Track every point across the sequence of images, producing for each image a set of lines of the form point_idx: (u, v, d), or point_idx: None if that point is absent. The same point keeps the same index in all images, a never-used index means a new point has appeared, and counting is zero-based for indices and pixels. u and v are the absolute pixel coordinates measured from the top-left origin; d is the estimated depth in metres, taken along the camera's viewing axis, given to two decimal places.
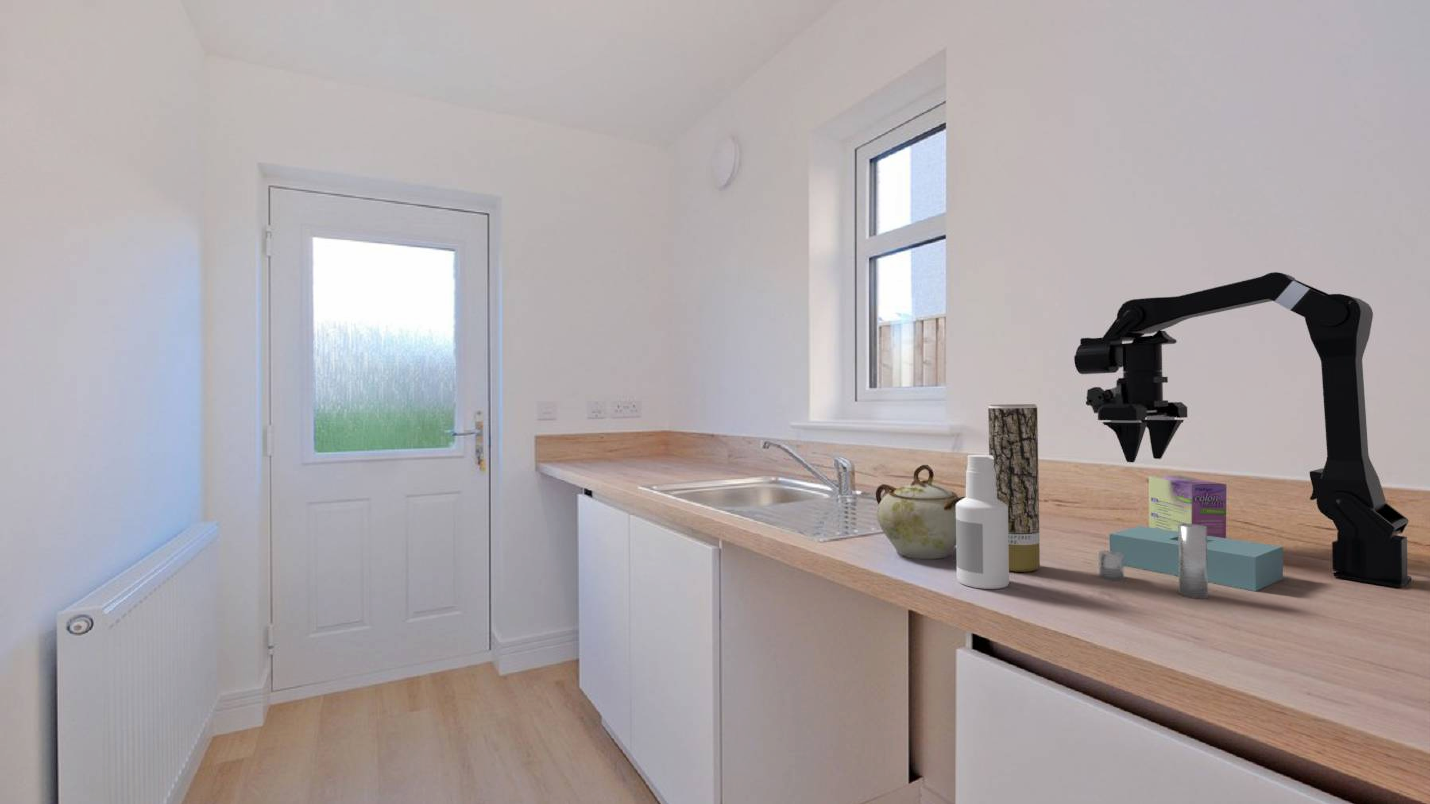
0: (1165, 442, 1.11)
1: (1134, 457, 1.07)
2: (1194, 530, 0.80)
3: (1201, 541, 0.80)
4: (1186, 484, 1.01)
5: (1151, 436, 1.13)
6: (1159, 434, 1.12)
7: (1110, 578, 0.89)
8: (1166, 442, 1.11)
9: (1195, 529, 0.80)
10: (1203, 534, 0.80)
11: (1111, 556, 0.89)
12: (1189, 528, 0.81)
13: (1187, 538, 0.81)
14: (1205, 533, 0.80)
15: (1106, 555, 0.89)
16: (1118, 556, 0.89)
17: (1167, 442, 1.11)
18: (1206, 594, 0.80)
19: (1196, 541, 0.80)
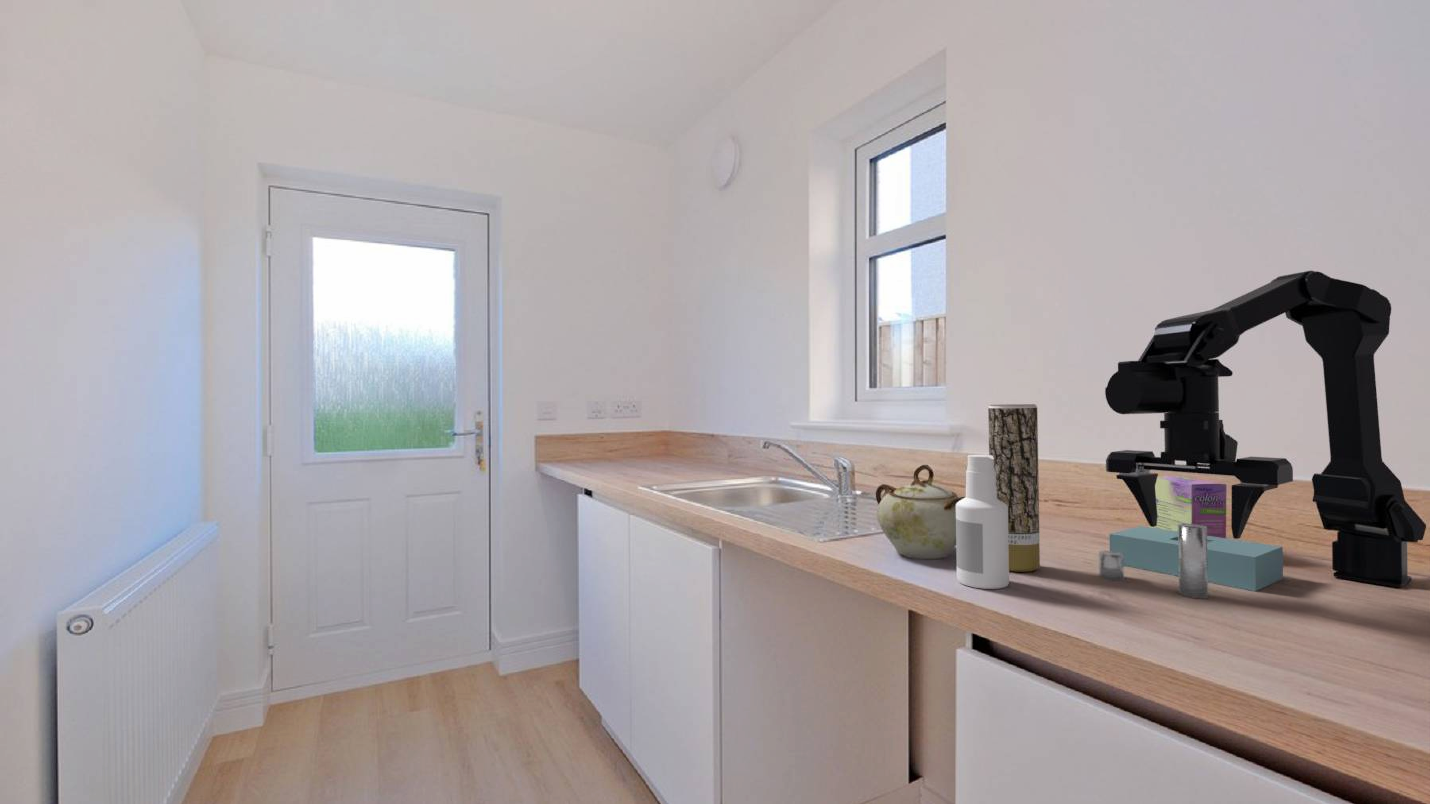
0: (1233, 515, 0.77)
1: (1147, 520, 0.85)
2: (1194, 530, 0.80)
3: (1201, 541, 0.80)
4: (1186, 484, 1.01)
5: None
6: None
7: (1110, 578, 0.89)
8: (1232, 515, 0.77)
9: (1195, 529, 0.80)
10: (1203, 534, 0.80)
11: (1111, 556, 0.89)
12: (1189, 528, 0.81)
13: (1187, 538, 0.81)
14: (1205, 533, 0.80)
15: (1106, 555, 0.89)
16: (1118, 556, 0.89)
17: (1233, 516, 0.77)
18: (1206, 594, 0.80)
19: (1196, 541, 0.80)
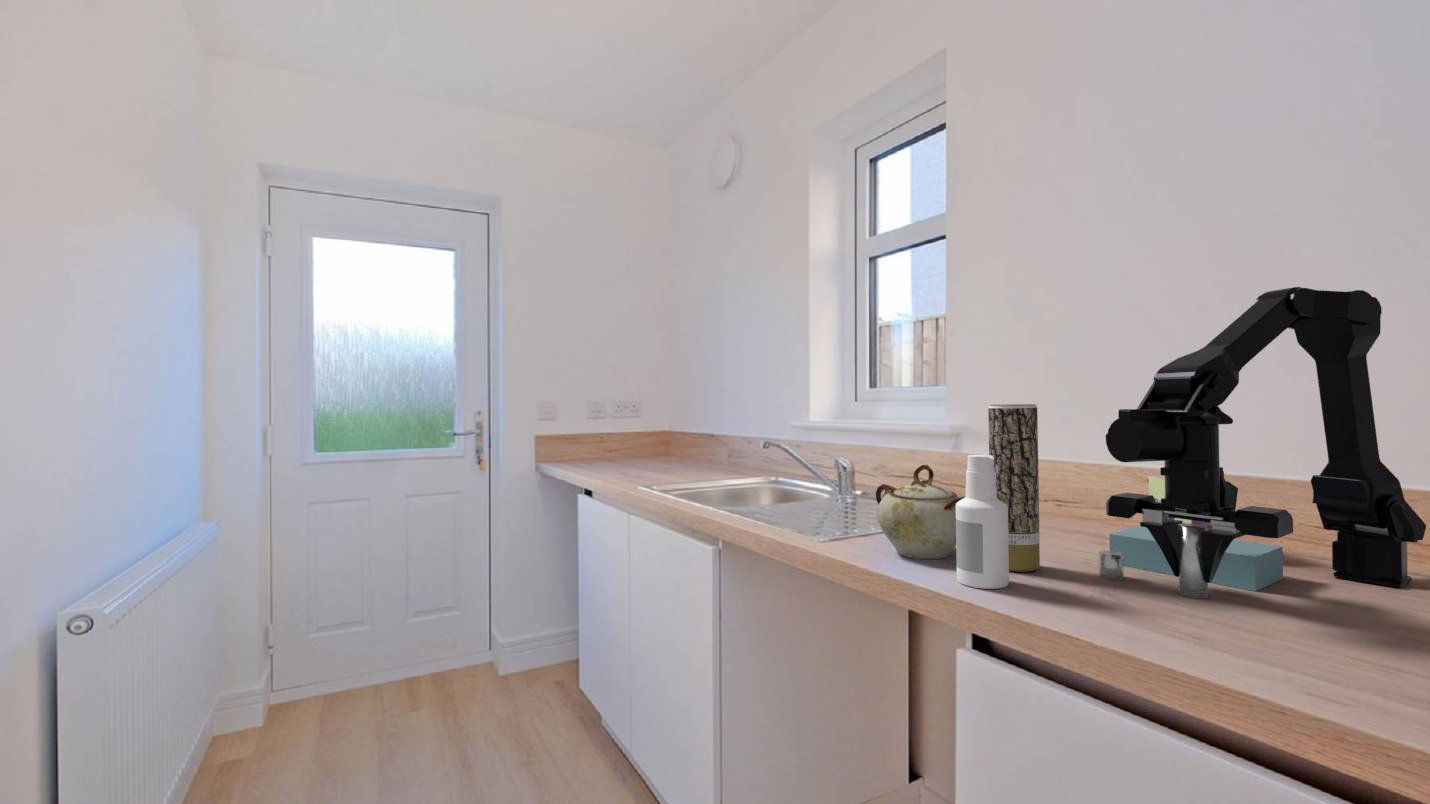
0: (1205, 560, 0.79)
1: (1172, 570, 0.83)
2: (1194, 530, 0.80)
3: (1201, 541, 0.80)
4: None
5: None
6: None
7: (1110, 578, 0.89)
8: (1203, 560, 0.79)
9: (1195, 529, 0.80)
10: None
11: (1111, 556, 0.89)
12: (1189, 528, 0.81)
13: (1187, 538, 0.81)
14: None
15: (1106, 555, 0.89)
16: (1118, 556, 0.89)
17: (1205, 561, 0.79)
18: (1206, 594, 0.80)
19: (1196, 541, 0.80)
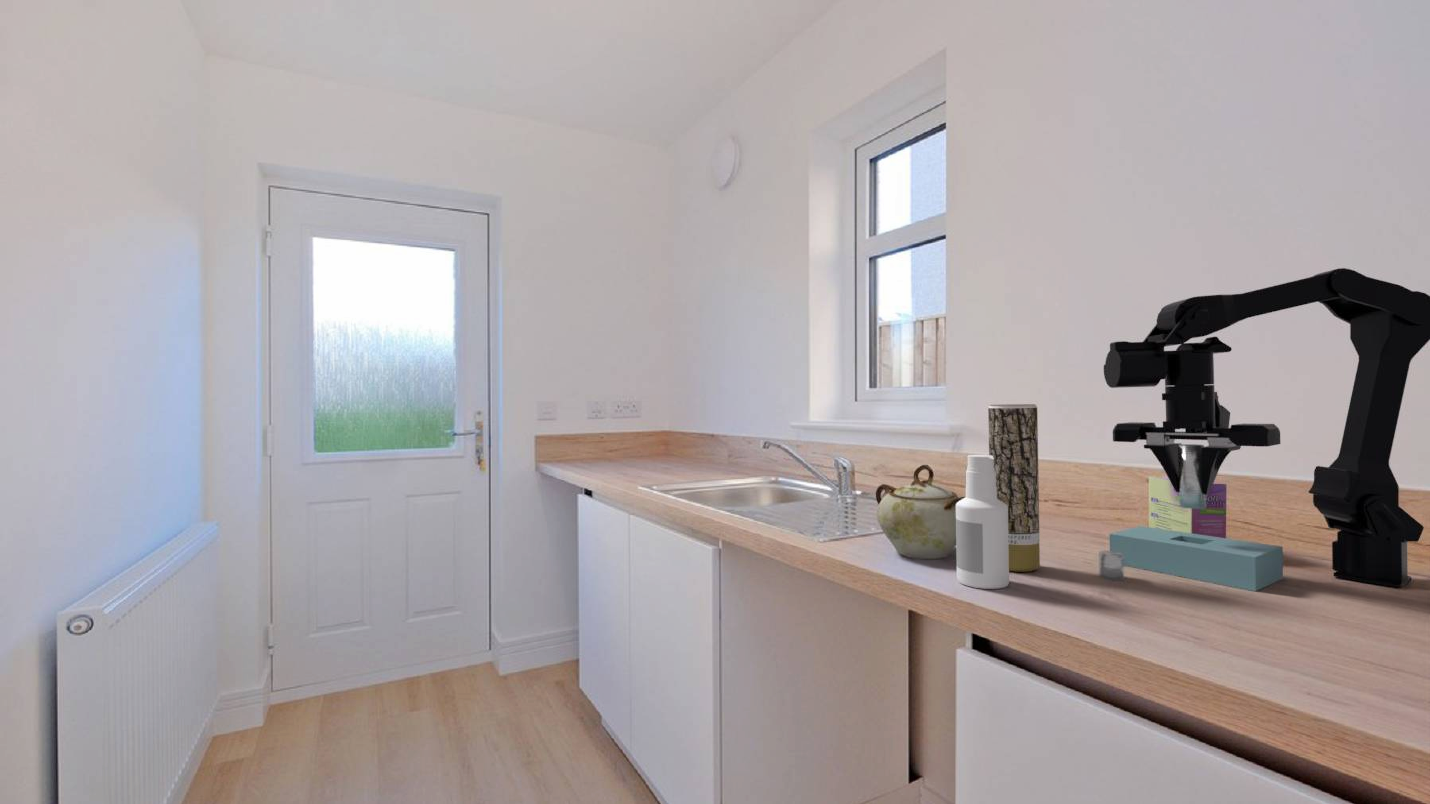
0: (1203, 473, 0.89)
1: (1173, 486, 0.92)
2: (1193, 448, 0.90)
3: (1199, 457, 0.89)
4: None
5: None
6: None
7: (1110, 578, 0.89)
8: (1201, 474, 0.89)
9: (1193, 447, 0.89)
10: (1200, 451, 0.89)
11: (1111, 556, 0.89)
12: (1188, 446, 0.90)
13: (1187, 455, 0.90)
14: None
15: (1106, 555, 0.89)
16: (1118, 556, 0.89)
17: (1203, 474, 0.88)
18: (1204, 505, 0.90)
19: (1195, 458, 0.89)
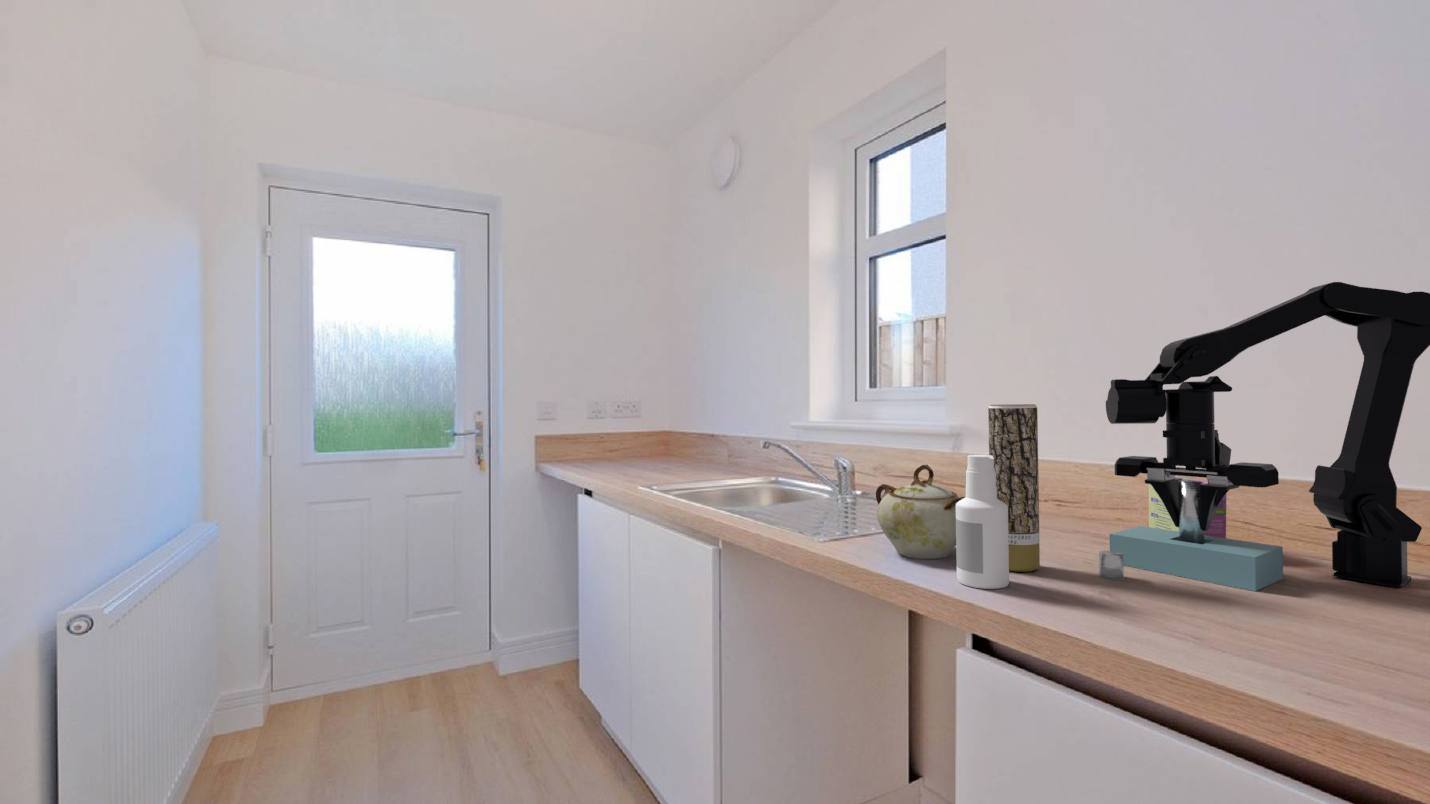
0: (1202, 510, 0.91)
1: (1173, 521, 0.94)
2: (1192, 484, 0.91)
3: (1198, 494, 0.91)
4: None
5: None
6: None
7: (1110, 578, 0.89)
8: (1200, 511, 0.91)
9: (1193, 484, 0.91)
10: None
11: (1111, 556, 0.89)
12: (1187, 482, 0.92)
13: (1186, 491, 0.92)
14: None
15: (1106, 555, 0.89)
16: (1118, 556, 0.89)
17: (1201, 511, 0.90)
18: (1203, 541, 0.91)
19: (1194, 494, 0.91)
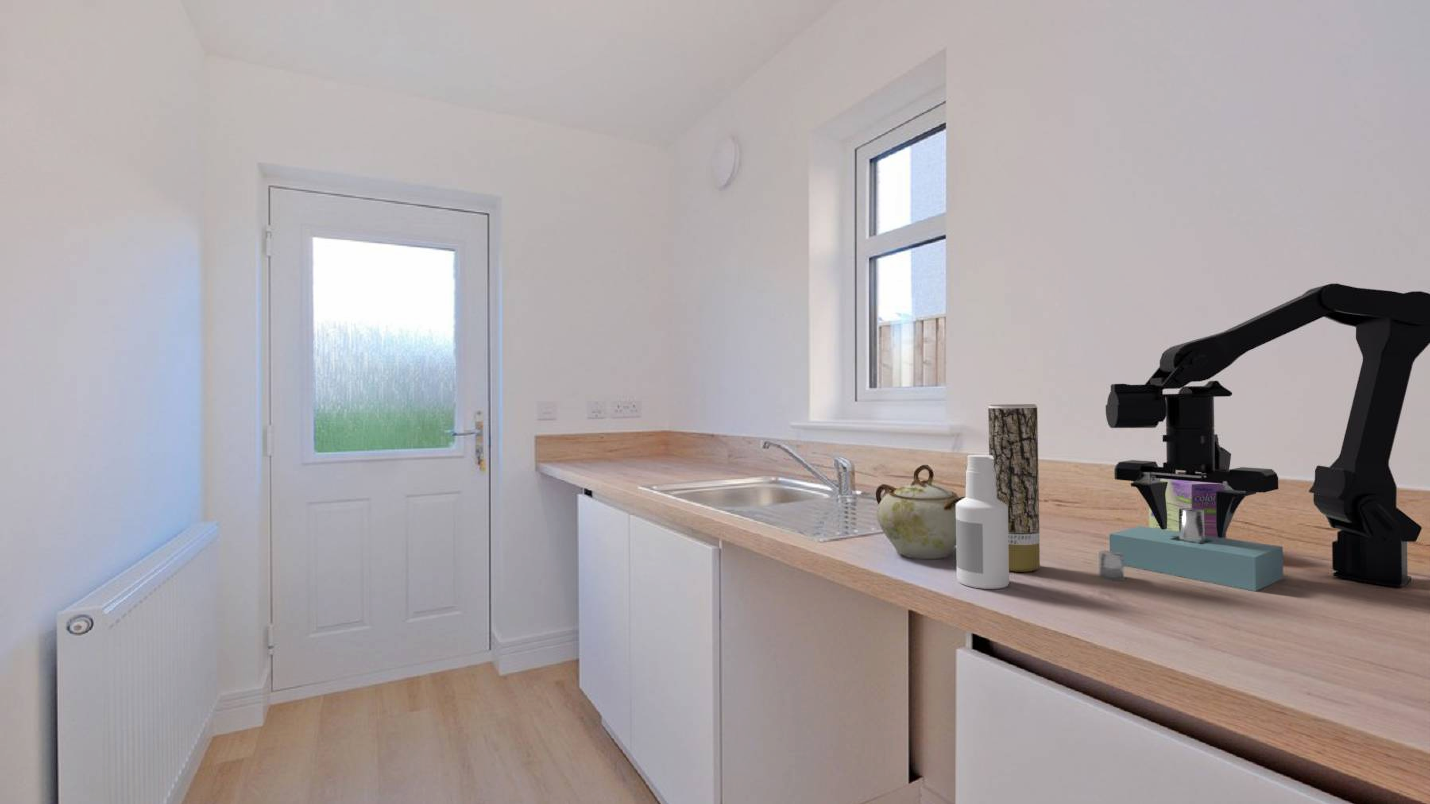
0: (1218, 517, 0.89)
1: (1158, 523, 0.96)
2: (1193, 513, 0.91)
3: (1199, 523, 0.91)
4: (1186, 484, 1.01)
5: None
6: None
7: (1110, 578, 0.89)
8: (1216, 517, 0.89)
9: (1193, 512, 0.91)
10: (1200, 516, 0.91)
11: (1111, 556, 0.89)
12: (1188, 511, 0.92)
13: (1187, 520, 0.92)
14: (1202, 516, 0.91)
15: (1106, 555, 0.89)
16: (1118, 556, 0.89)
17: (1218, 518, 0.89)
18: None
19: (1194, 523, 0.91)
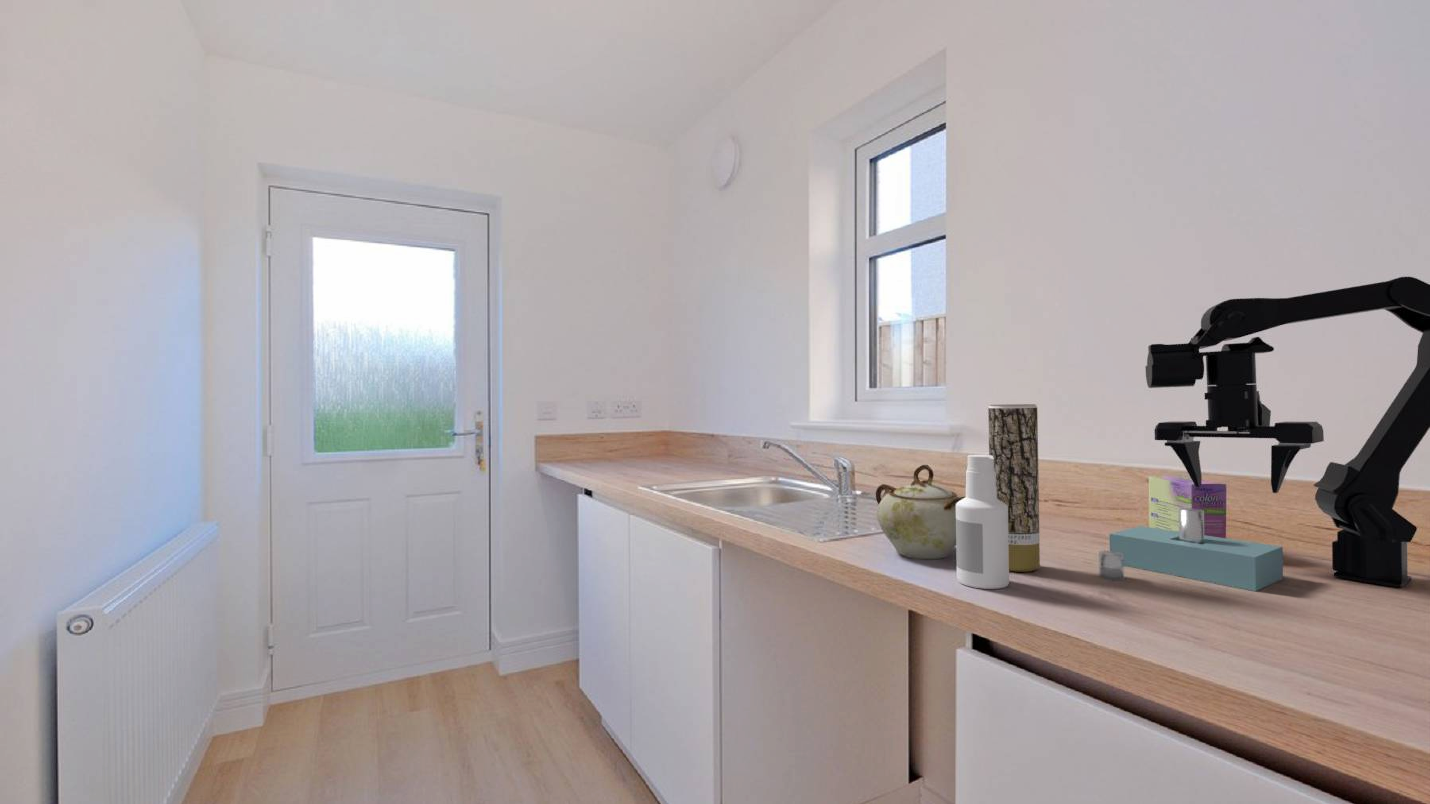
0: (1273, 472, 0.89)
1: (1193, 481, 0.97)
2: (1193, 513, 0.91)
3: (1199, 523, 0.91)
4: (1186, 484, 1.01)
5: None
6: None
7: (1110, 578, 0.89)
8: (1271, 472, 0.89)
9: (1193, 512, 0.91)
10: (1200, 516, 0.91)
11: (1111, 556, 0.89)
12: (1188, 511, 0.92)
13: (1186, 520, 0.92)
14: (1202, 516, 0.91)
15: (1106, 555, 0.89)
16: (1118, 556, 0.89)
17: (1272, 472, 0.88)
18: None
19: (1194, 523, 0.91)
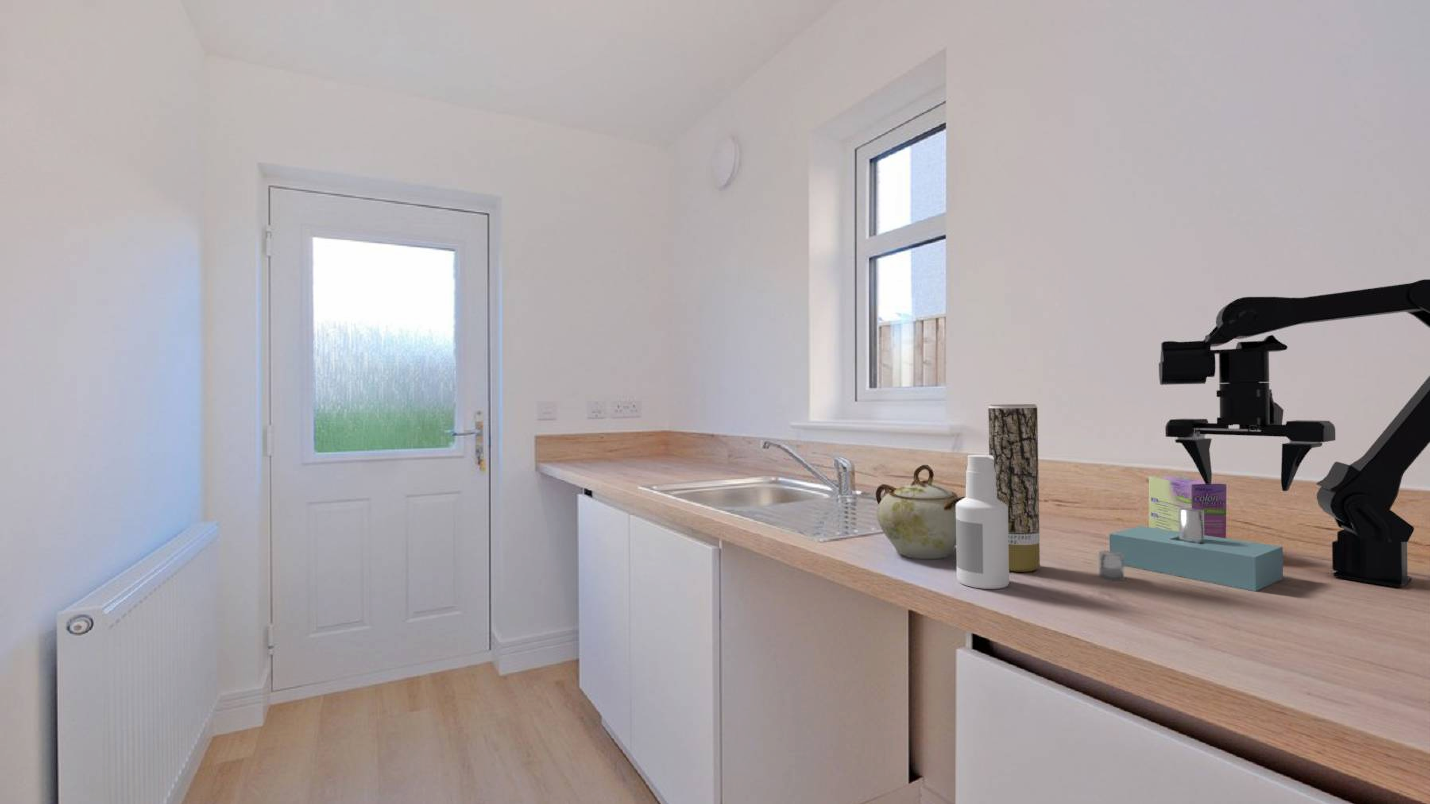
0: (1283, 470, 0.89)
1: (1203, 478, 0.97)
2: (1193, 513, 0.91)
3: (1199, 523, 0.91)
4: (1186, 484, 1.01)
5: None
6: None
7: (1110, 578, 0.89)
8: (1281, 470, 0.89)
9: (1193, 512, 0.91)
10: (1200, 516, 0.91)
11: (1111, 556, 0.89)
12: (1188, 511, 0.92)
13: (1187, 520, 0.92)
14: (1202, 516, 0.91)
15: (1106, 555, 0.89)
16: (1118, 556, 0.89)
17: (1283, 471, 0.89)
18: None
19: (1194, 523, 0.91)
